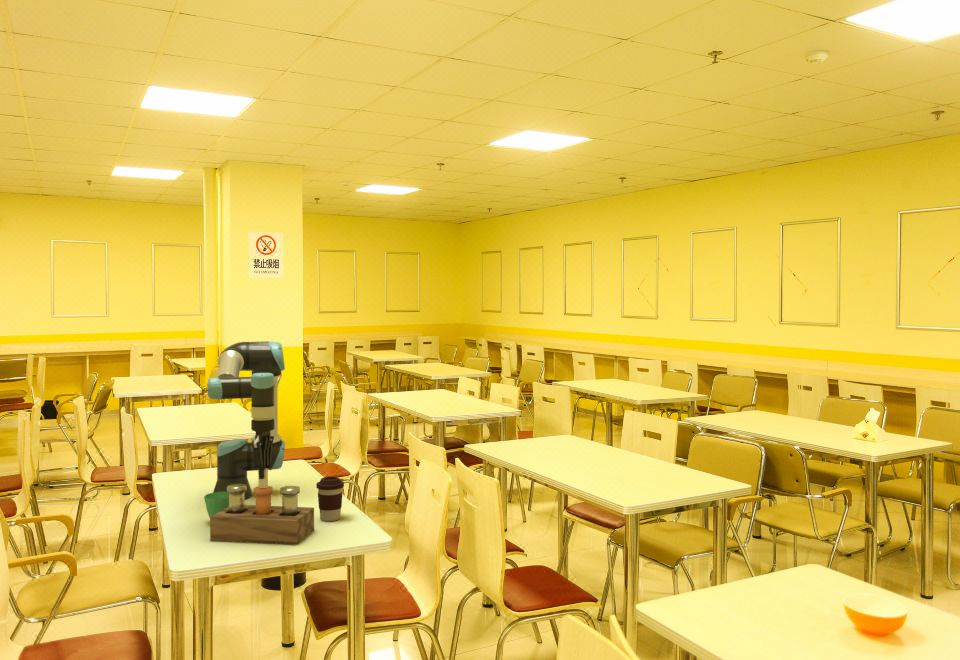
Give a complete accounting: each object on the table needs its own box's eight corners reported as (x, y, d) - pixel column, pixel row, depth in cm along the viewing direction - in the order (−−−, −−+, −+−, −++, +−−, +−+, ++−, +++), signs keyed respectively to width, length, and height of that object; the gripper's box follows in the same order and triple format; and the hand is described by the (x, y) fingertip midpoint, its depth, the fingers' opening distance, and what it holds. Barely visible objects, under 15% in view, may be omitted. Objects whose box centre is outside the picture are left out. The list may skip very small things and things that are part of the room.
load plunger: (258, 516, 249) (258, 485, 249) (276, 516, 248) (276, 486, 248) (250, 521, 243) (250, 490, 243) (268, 522, 242) (268, 491, 242)
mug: (214, 528, 254) (214, 500, 253) (198, 523, 259) (198, 495, 259) (250, 518, 265) (250, 491, 265) (234, 514, 271) (234, 487, 271)
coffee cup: (330, 524, 259) (330, 482, 258) (310, 520, 264) (310, 479, 264) (349, 517, 267) (349, 477, 267) (329, 513, 272) (329, 474, 272)
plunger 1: (232, 513, 250) (232, 483, 250) (249, 514, 250) (249, 484, 249) (223, 519, 244) (223, 488, 244) (241, 519, 243) (241, 488, 243)
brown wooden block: (232, 526, 256) (232, 504, 255) (314, 530, 252) (314, 507, 252) (210, 540, 240) (210, 517, 240) (296, 545, 236) (296, 520, 236)
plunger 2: (284, 516, 248) (284, 485, 248) (302, 516, 247) (302, 486, 247) (277, 521, 242) (277, 490, 241) (295, 522, 241) (295, 490, 240)
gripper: (260, 415, 252) (260, 482, 252) (243, 421, 239) (244, 492, 239) (281, 416, 251) (281, 483, 251) (265, 421, 238) (265, 492, 238)
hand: (263, 487), depth 245 cm, fingers closed
